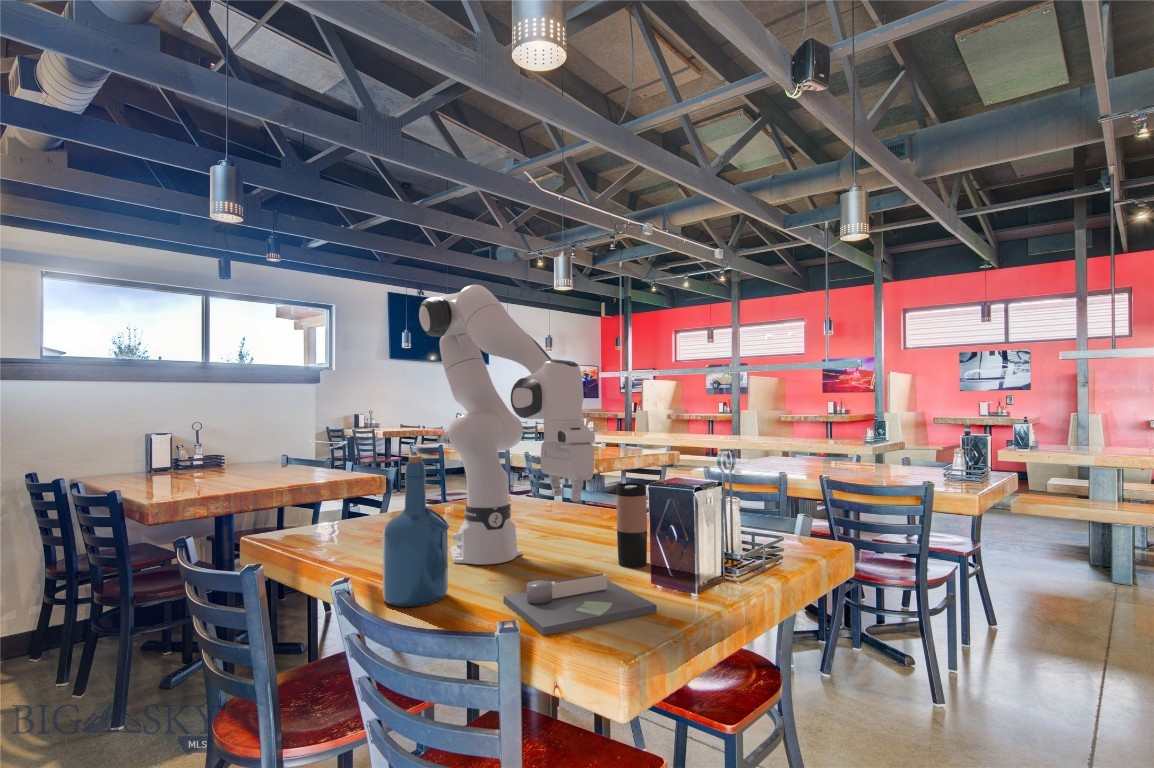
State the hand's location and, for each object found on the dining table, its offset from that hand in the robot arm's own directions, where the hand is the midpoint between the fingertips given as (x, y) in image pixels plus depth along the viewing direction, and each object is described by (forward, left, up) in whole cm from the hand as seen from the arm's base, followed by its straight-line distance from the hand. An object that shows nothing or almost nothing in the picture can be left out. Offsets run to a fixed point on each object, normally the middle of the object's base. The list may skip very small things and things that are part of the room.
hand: (566, 498), depth 127 cm
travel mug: (-13, +25, -21) cm, 35 cm away
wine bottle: (-13, -29, -21) cm, 38 cm away
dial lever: (+6, -3, -18) cm, 19 cm away
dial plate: (+9, -2, -20) cm, 22 cm away
